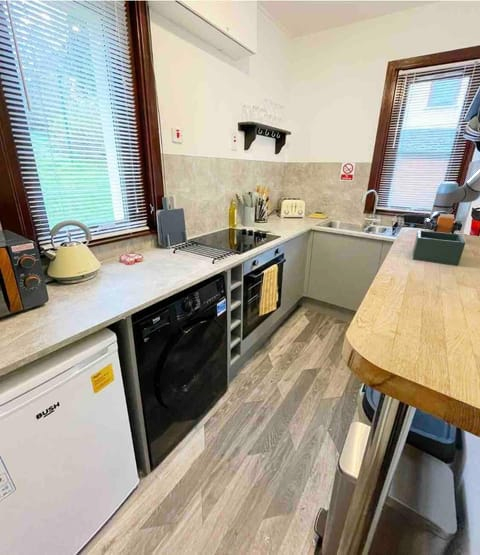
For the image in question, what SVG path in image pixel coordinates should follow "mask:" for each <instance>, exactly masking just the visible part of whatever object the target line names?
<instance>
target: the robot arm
mask: <svg viewBox="0 0 480 555" xmlns="http://www.w3.org/2000/svg"><path fill="white" fill-rule="evenodd" d="M479 198H480V169H479V170H478V171H477V172H475V174H474V175H472V177H470V179H469V180H467V181H466V182H465V183H464V184H463V185H462V186H459V184H458V182H440V183H439V184H438V186H437V190H436V194H435V198H434V201H433V206H432V208H431V212H430V213H429V218H428V217H424V220H423V224H424V227H425V228H427V229H428V228H429V231H433V232H436V231H437V228H438V224H437V221H438V217H439V216H440V214H451V211H452V209H453V205H454V204H460V203H462V204H463V203H472V202H475V201H477V200H478V199H479ZM462 228H463V223H462V220H455V221H454V222H453V226H452V229H451V232H450V233H452V234H455V232H460V231H462Z"/></svg>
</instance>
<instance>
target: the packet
mask: <svg viewBox="0 0 480 555" xmlns="http://www.w3.org/2000/svg"><path fill="white" fill-rule="evenodd" d="M453 222H455V214H452V213H450V214H440V216H439V217H438V221H437V224H438V228H437V231H436V232H441V233H451V229H452V226H453Z"/></svg>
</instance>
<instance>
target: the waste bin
mask: <svg viewBox="0 0 480 555" xmlns="http://www.w3.org/2000/svg"><path fill="white" fill-rule="evenodd" d="M414 241H415V242H414V245H413V248H412V260H415V261H421V262H427V263H429V262H430V263H435V264H443V265H449V266H457V267H458V266H459V264H460V261H461V258H462V255H463V252H464V250H465V246H466V241H465V240H464V237H463V236H462V234H460V233H454V234H452V233H451V232H450V233H441V232H434V231H432V230H420V229H418V230H417V233H416V236H415V240H414Z"/></svg>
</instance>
